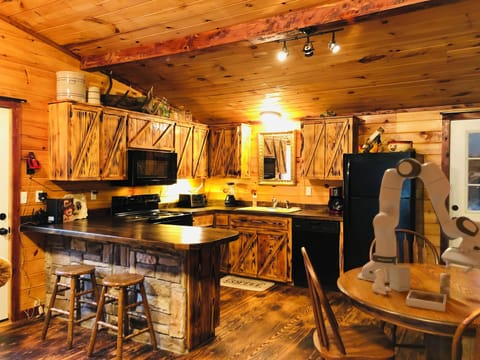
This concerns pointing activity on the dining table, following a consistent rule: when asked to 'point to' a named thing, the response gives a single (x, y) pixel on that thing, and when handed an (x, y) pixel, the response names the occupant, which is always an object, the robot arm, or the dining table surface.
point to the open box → (426, 303)
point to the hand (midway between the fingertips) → (455, 271)
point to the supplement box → (400, 278)
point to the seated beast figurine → (379, 283)
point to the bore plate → (427, 297)
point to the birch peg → (445, 284)
